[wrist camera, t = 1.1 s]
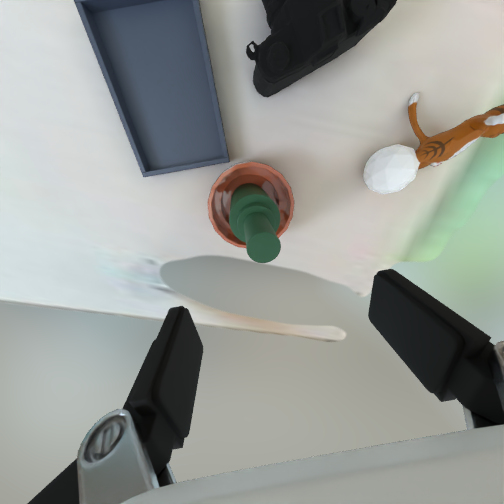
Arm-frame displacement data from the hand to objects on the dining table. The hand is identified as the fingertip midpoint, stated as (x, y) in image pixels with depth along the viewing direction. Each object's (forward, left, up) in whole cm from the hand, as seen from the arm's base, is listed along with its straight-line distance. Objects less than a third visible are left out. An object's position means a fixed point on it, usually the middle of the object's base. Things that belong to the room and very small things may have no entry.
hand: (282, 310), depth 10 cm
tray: (-15, -8, -25) cm, 30 cm away
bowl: (0, 0, -25) cm, 25 cm away
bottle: (0, 0, -24) cm, 24 cm away
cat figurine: (-5, +26, -25) cm, 36 cm away
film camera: (-19, +9, -25) cm, 33 cm away
